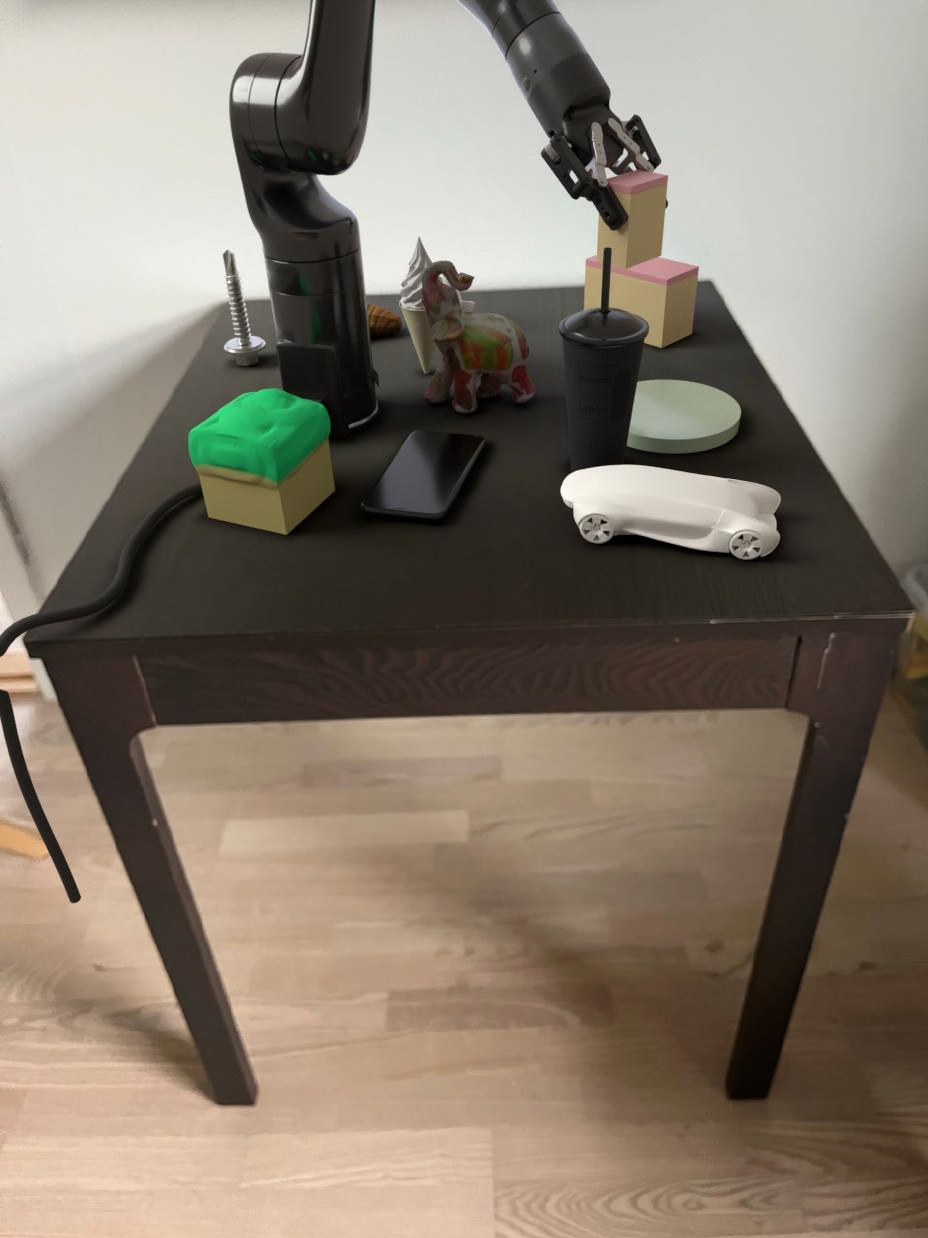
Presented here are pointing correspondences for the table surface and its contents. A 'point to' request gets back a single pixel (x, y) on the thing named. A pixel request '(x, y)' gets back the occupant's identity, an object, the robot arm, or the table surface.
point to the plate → (681, 417)
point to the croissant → (382, 320)
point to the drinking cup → (601, 378)
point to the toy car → (674, 508)
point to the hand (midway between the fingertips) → (641, 217)
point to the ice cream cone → (417, 306)
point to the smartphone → (424, 476)
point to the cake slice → (635, 219)
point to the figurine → (471, 345)
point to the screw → (239, 318)
